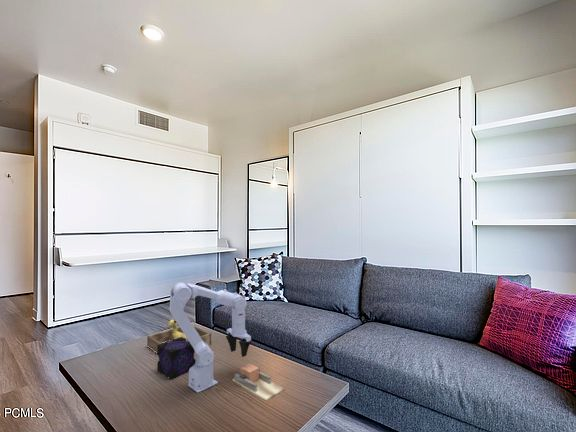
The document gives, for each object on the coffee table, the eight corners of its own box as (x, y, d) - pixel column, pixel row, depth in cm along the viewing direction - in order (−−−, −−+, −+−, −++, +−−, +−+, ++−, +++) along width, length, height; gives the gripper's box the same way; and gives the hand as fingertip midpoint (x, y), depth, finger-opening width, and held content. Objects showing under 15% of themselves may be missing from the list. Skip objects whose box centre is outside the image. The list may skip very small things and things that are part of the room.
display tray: (167, 360, 146) (167, 348, 146) (147, 347, 162) (147, 336, 162) (211, 344, 165) (211, 333, 165) (189, 334, 180) (189, 324, 180)
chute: (266, 401, 112) (266, 391, 112) (232, 381, 126) (232, 372, 127) (284, 389, 120) (284, 380, 120) (250, 372, 134) (250, 364, 134)
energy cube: (181, 361, 145) (181, 336, 145) (195, 369, 137) (195, 343, 138) (157, 371, 136) (157, 344, 136) (171, 380, 128) (171, 352, 128)
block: (249, 384, 123) (249, 372, 123) (240, 379, 127) (240, 367, 127) (258, 379, 126) (258, 367, 126) (249, 374, 130) (249, 363, 130)
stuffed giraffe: (161, 342, 167) (162, 314, 166) (194, 338, 174) (195, 311, 174) (162, 355, 152) (163, 324, 152) (198, 349, 160) (199, 320, 160)
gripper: (256, 323, 130) (256, 355, 130) (235, 316, 140) (235, 346, 140) (243, 328, 125) (243, 360, 125) (223, 320, 135) (223, 351, 135)
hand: (238, 353), depth 132 cm, fingers open, 7 cm apart
